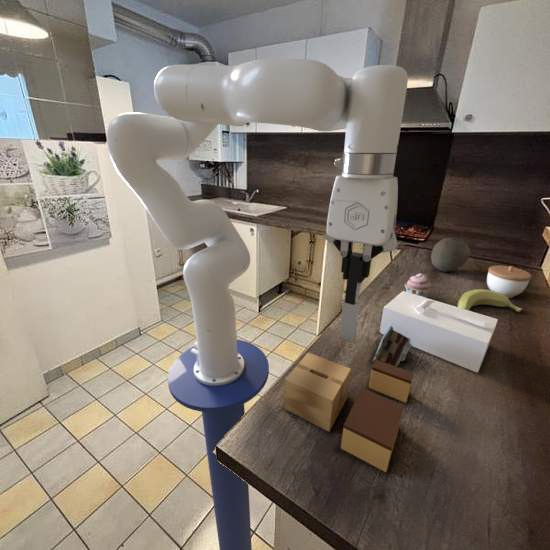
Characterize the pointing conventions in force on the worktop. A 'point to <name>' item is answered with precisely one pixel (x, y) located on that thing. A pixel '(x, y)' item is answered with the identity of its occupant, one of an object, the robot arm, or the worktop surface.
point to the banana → (484, 299)
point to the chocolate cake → (393, 347)
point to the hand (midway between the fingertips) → (354, 277)
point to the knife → (351, 301)
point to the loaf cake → (372, 428)
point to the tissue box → (440, 328)
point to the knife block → (317, 390)
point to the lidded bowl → (507, 280)
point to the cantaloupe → (450, 254)
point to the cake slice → (390, 380)
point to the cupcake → (419, 285)
